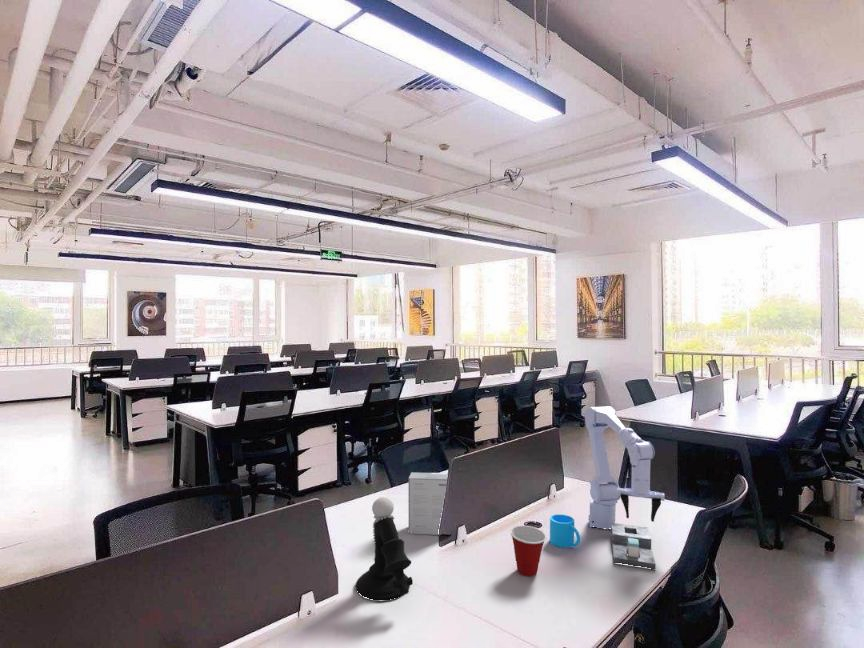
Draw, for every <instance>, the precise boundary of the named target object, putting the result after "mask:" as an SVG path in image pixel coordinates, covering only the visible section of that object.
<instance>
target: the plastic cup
mask: <svg viewBox="0 0 864 648" xmlns="http://www.w3.org/2000/svg"><path fill="white" fill-rule="evenodd" d="M510 535H511V538H512V543H513V550H514V551H513V552H514V557H515V562H516V570H517V573H519V575H521V576H525V577H534V576H537V575H536V574H537V573H538V569H539V565H540V560H541V556H542V551H543V546H544V544H545V541H546V540H547V535H546V533H545V532H544V531H543V530H541V529H539V528H537V527H534V526H531V525H516V526H513V527H512V528H511V529H510ZM533 575H534V576H533Z"/></svg>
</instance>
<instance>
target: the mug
mask: <svg viewBox="0 0 864 648" xmlns="http://www.w3.org/2000/svg"><path fill="white" fill-rule="evenodd" d="M575 537H576V541H575ZM550 542H551V543H552V544H553V545H552V544H551V543H550ZM549 543H550V544H551V545H552V546H554V545H556V546H555V547H557V546H559V547H558V548H561V547H569V548H571V547H570V546H572V547H577V546H579V544H580V543H581V535H580V532H579V530H578V529H577V528H576V526H575V519H574V517H572V516H570V515H566V514H563V513H562V514H561V513H560V514H557V513H556V514H552V515H550V516H549Z"/></svg>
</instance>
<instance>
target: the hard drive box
mask: <svg viewBox="0 0 864 648" xmlns="http://www.w3.org/2000/svg"><path fill="white" fill-rule="evenodd" d="M447 477H448V472H445V473H444V472H413V471H411V472H410V474H409V476H408V534H410V535H411V534H413V535H433V536H439V535H438V529H439V524H440V518H441V513H442V508H443V502H444V496H445V490H446V483H447Z"/></svg>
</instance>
